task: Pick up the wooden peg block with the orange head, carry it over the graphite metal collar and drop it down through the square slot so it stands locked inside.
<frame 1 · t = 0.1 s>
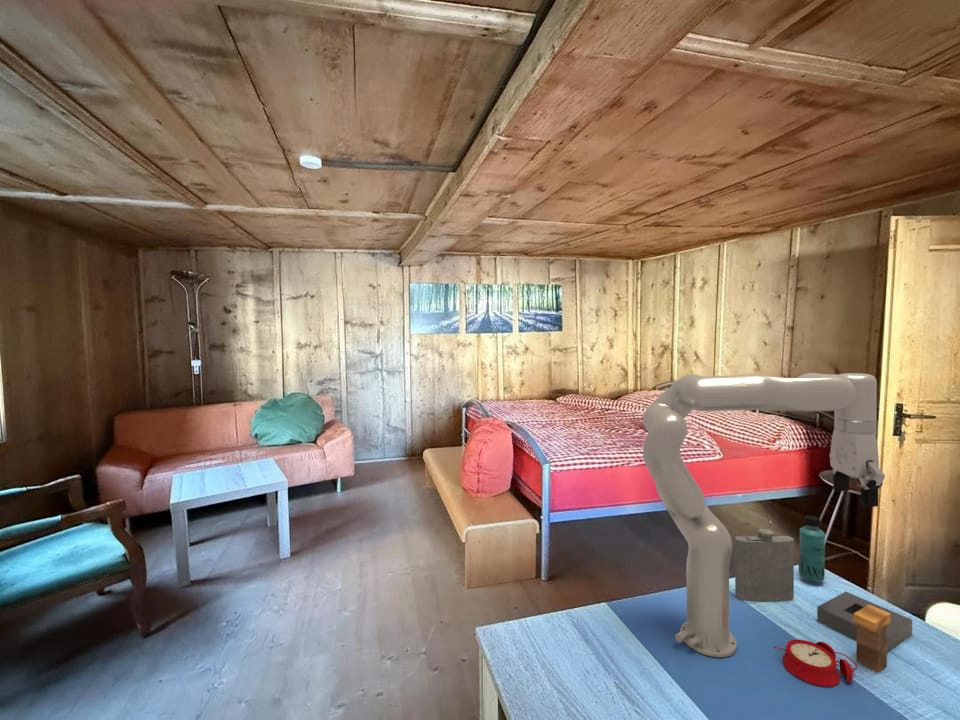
hand: (854, 498, 104), 37 cm above the table, tool pointing down, fingers open, 9 cm apart
beverage bottle: (811, 581, 135), on the table
wooden peg block: (871, 664, 101), on the table
alarm clock: (817, 671, 100), on the table
collar: (863, 628, 113), on the table
hip flask: (765, 598, 127), on the table
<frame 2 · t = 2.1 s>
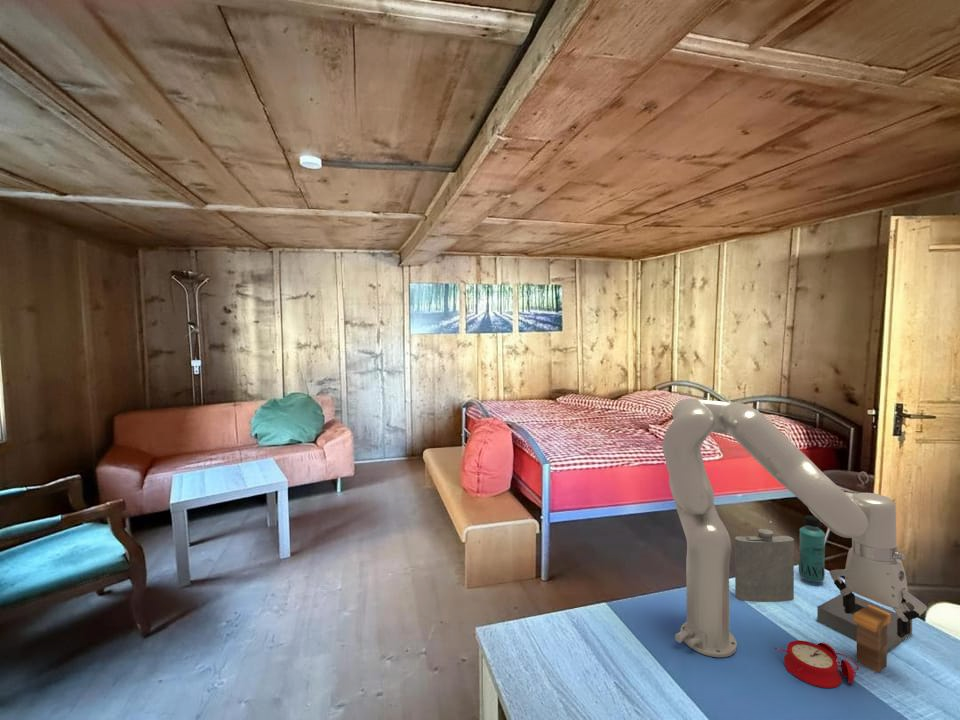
hand: (875, 622, 100), 10 cm above the table, tool pointing down, fingers open, 9 cm apart
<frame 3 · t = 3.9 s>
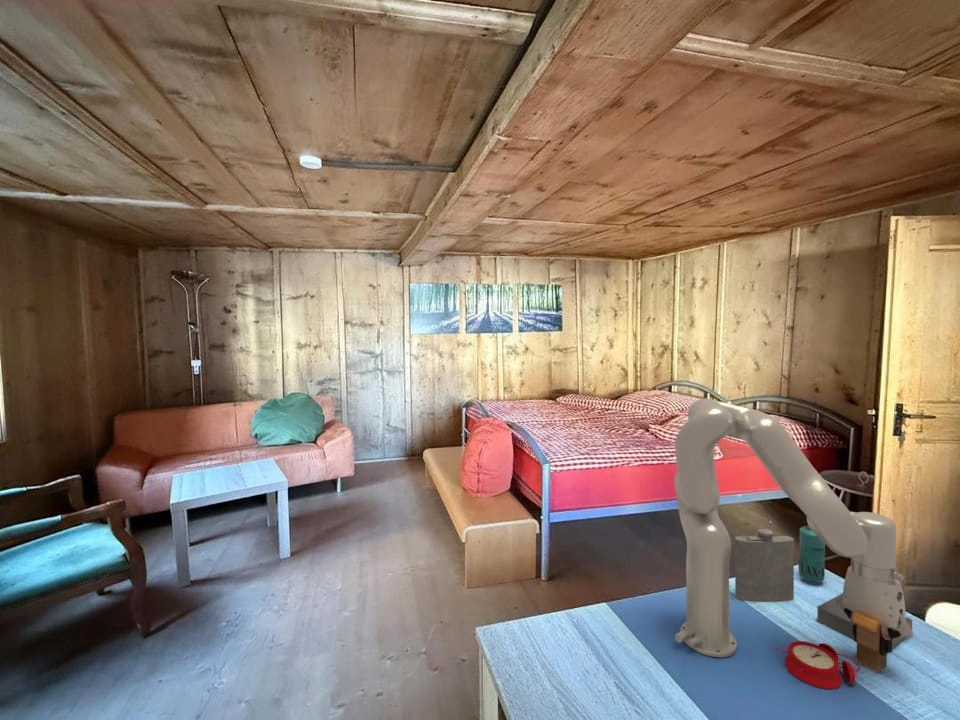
hand: (871, 645, 101), 4 cm above the table, tool pointing down, fingers closed on wooden peg block, 4 cm apart
wooden peg block: (871, 664, 101), on the table, touching gripper
everything else where it was.
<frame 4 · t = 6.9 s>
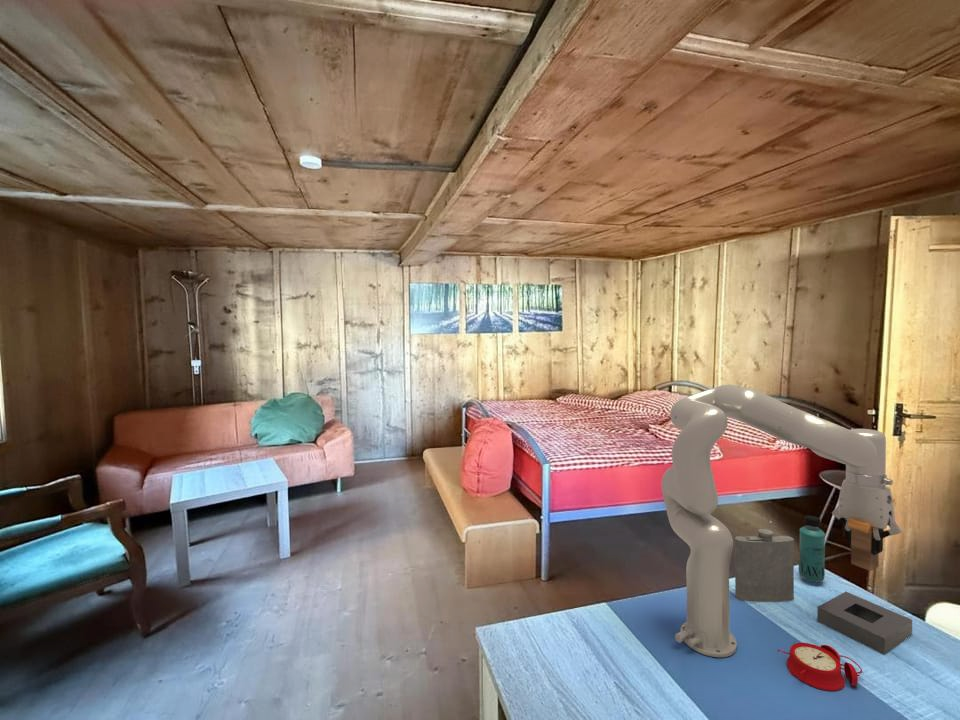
hand: (864, 548, 112), 21 cm above the table, tool pointing down, fingers closed on wooden peg block, 4 cm apart
wooden peg block: (864, 565, 112), point 17 cm above the table, touching gripper
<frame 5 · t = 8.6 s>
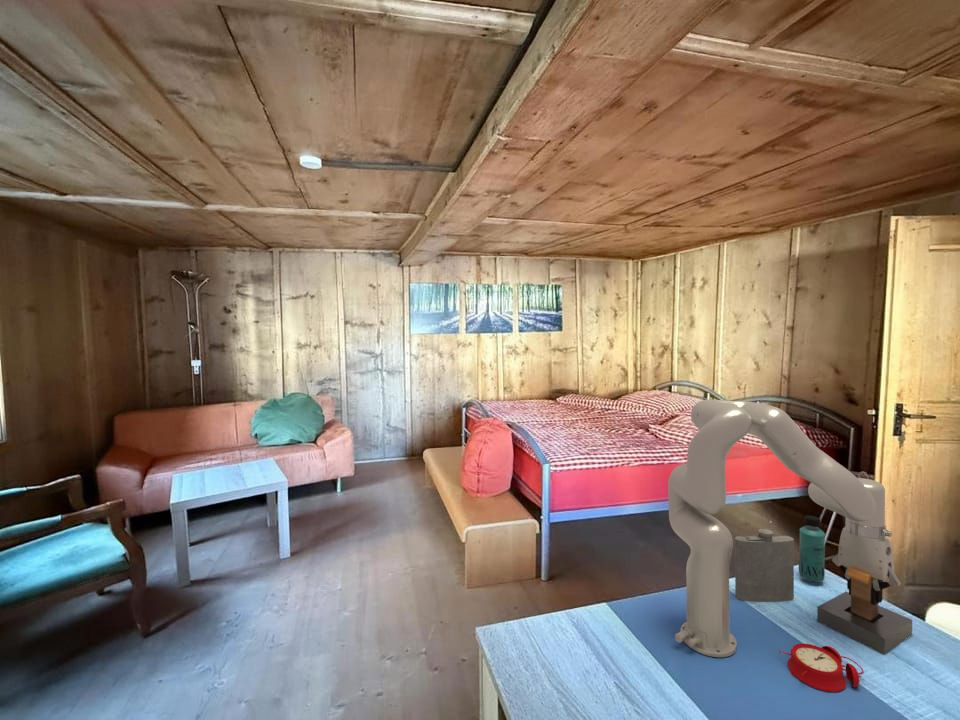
hand: (864, 597, 113), 8 cm above the table, tool pointing down, fingers closed on wooden peg block, 4 cm apart
wooden peg block: (864, 613, 113), point 4 cm above the table, touching gripper
when the fingers open (6 cm above the table, at t = 9.9 s): wooden peg block drops 2 cm, resting in collar.
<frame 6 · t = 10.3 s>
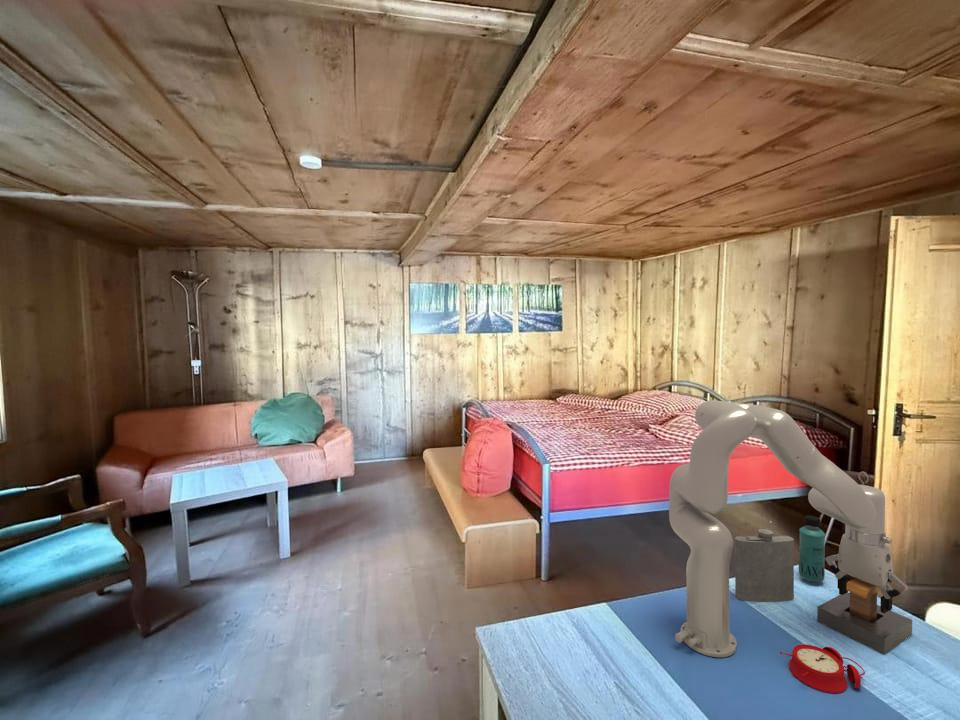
hand: (863, 601, 113), 7 cm above the table, tool pointing down, fingers open, 8 cm apart
wooden peg block: (863, 628, 113), resting in collar
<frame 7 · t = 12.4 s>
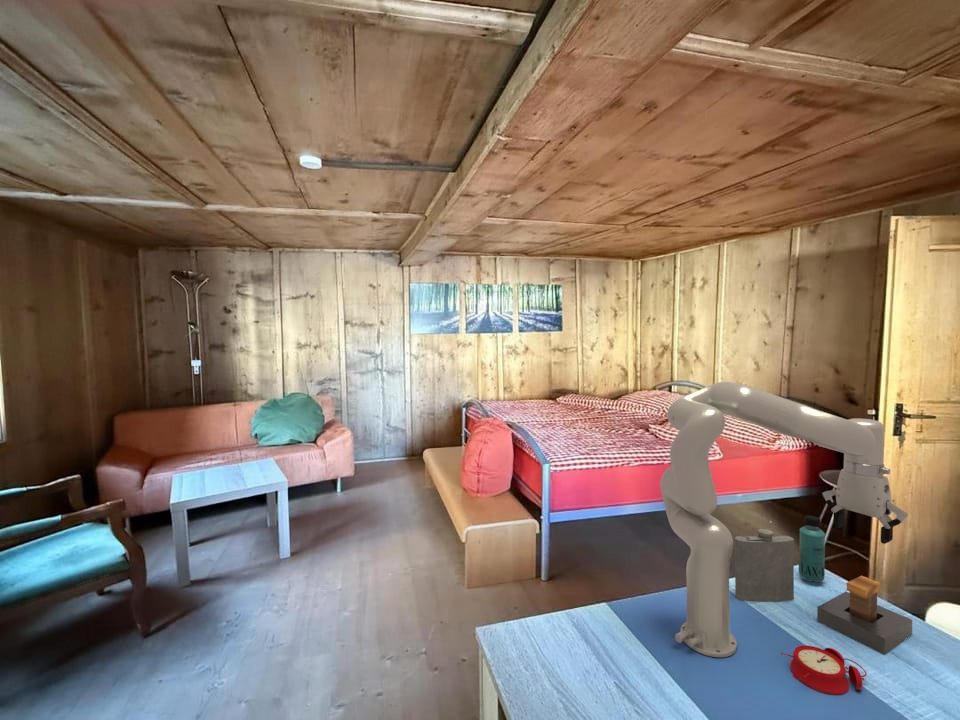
hand: (861, 534, 112), 25 cm above the table, tool pointing down, fingers open, 9 cm apart
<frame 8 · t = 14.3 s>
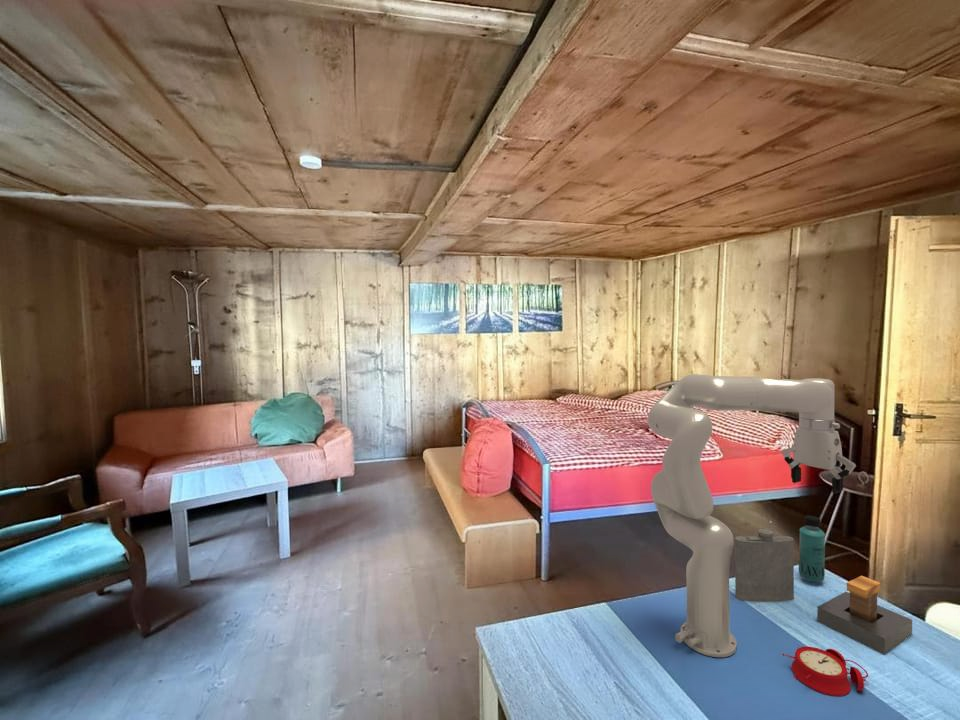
hand: (815, 487, 119), 34 cm above the table, tool pointing down, fingers open, 9 cm apart
at the end: wooden peg block 0.1 cm off-centre on the collar, point 0.0 cm above the collar's base; wooden peg block tilted 0°; the gripper is holding nothing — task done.
